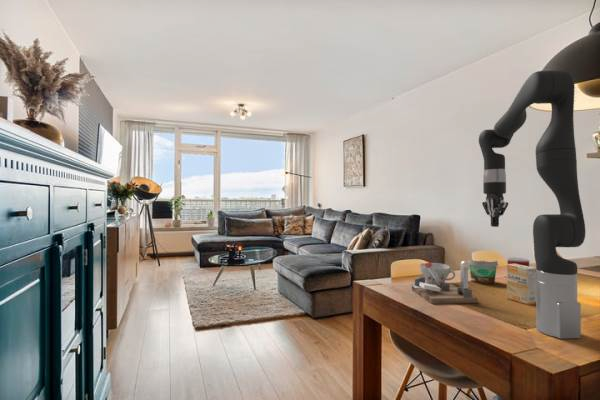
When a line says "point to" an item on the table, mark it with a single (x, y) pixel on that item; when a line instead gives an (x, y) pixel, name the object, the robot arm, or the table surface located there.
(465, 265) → the grey metal bar
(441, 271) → the teacup
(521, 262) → the canned food
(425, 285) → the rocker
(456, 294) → the panel
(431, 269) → the red toggle
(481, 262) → the food container
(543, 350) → the table surface
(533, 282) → the supplement box
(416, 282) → the button
